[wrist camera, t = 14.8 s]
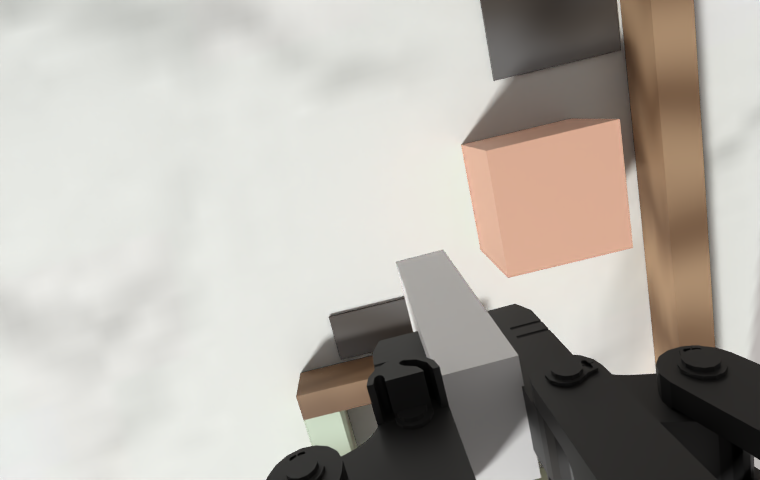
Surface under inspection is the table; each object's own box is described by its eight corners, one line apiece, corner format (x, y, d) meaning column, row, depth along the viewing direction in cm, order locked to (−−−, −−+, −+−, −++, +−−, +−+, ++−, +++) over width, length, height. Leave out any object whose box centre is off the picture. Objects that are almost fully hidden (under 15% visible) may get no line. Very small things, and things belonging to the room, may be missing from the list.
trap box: (182, -11, 23) (149, -37, 19) (649, -124, 23) (709, -172, 20) (350, 534, 32) (350, 592, 28) (694, 449, 32) (742, 495, 28)
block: (460, 144, 26) (486, 150, 21) (569, 118, 26) (619, 118, 21) (480, 249, 28) (508, 277, 23) (583, 224, 28) (632, 247, 23)
